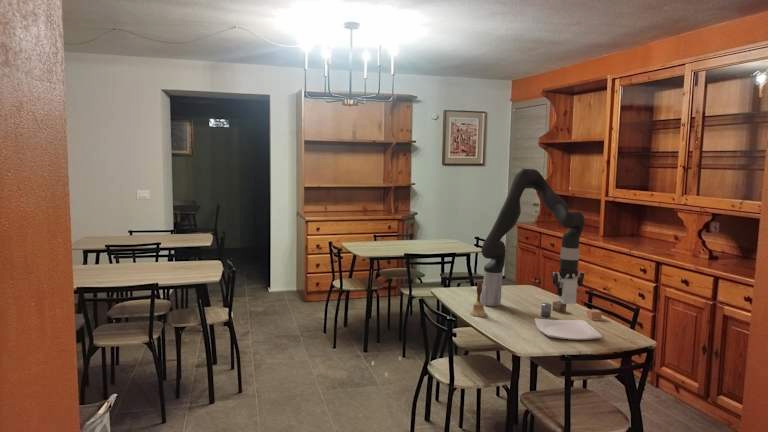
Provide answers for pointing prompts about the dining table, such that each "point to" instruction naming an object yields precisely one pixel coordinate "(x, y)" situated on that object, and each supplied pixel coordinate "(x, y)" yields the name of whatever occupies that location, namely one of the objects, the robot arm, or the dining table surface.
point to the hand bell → (478, 304)
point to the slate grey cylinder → (546, 310)
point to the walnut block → (559, 307)
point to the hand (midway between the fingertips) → (566, 295)
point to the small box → (568, 291)
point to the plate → (567, 329)
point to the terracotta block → (594, 314)
